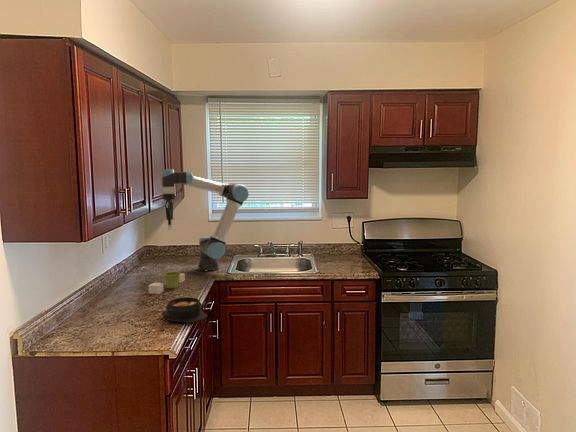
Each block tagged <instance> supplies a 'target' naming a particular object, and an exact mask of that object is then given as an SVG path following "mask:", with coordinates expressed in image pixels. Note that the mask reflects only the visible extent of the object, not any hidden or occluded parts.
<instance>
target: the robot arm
mask: <svg viewBox="0 0 576 432" xmlns="http://www.w3.org/2000/svg"><path fill="white" fill-rule="evenodd" d="M161 179H162V183H161V184H162V188H161V190H162V200H164V201H165V205H164V207H165V214H166V215H165V217H166V219H165V220H166V221H167V230H168V231H172V230H173V224H174V223H173V220H174V202H173V200H175V199H176V194H175V192H176V187H175V185H178V184H180V185H184V186H187V187H192V188H195V189H199V190H204V191H207V192H211V193H215V194H218V196H220V197H223V198H225V201H226V205H225V207H224V209H223V212H222V214H221V217H220V219H219V221H218V223H217V226H216V228H215V230H214V233H213V234H211V235H210V236H207V237H200V238H199V239H198V241H199V242H198V243H199V246H198V247H199V260H198V263H197V270H198V269H199V270H214V269H218V268H219V269H220V265H219V262H218V259H220V258H222V257H223V256H224V255H225V253H226V244H227V241H226V238H227V236H228V234H229V232H230V230H231V226H232V224H233V222H234V220H235V217H236V214H237V212H238V210H239V208H240V207H242V206H243V204H244V202H245V201H246V200H247V199H248V198H249V195H250V194H249V189H248V187H247V186H246V185H243V184H241V183H228V182H227V183H226V182H218V181H213V180H210V179H205V178H202V177H199V176H195V175H193V172H191V171H175V170H174V169H173V168H172V169H171V168H170V169H169V168H168V169H162V170H161ZM219 269H218V270H219ZM199 270H198V271H199ZM214 271H215V270H214Z"/></svg>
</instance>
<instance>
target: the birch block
mask: <svg viewBox="0 0 576 432" xmlns="http://www.w3.org/2000/svg"><path fill="white" fill-rule="evenodd" d="M179 273H180V272H179ZM184 280H185V281H186V273H180V274H179V279H178V284H182V283H184V282H185V281H184ZM183 281H184V282H183ZM181 282H182V283H181Z"/></svg>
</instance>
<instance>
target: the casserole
mask: <svg viewBox="0 0 576 432" xmlns="http://www.w3.org/2000/svg"><path fill="white" fill-rule="evenodd" d="M202 305H203V304H202V303H201V301H200V300H199V298H196V297H189V296H188V297H179V298H173V299H171V300H169V301H168V302H167V305H166V306H165V310H164V311H162V312H161V315H162V316H163V317H164V319H166V320H167V321H169V322H170V321H171V322H175V323H189V324H190V323H197V322H200V321H203V320H205V319H207V318H208V314H206V313H205V312H204V311H203V310H202V309H201V307H202Z"/></svg>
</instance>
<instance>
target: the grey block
mask: <svg viewBox="0 0 576 432" xmlns="http://www.w3.org/2000/svg"><path fill="white" fill-rule="evenodd" d="M164 290H165V289H164V282H163V283H162V282H153V283H150V284H148V294H151V295H159V294H161V293H163V292H164Z"/></svg>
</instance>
